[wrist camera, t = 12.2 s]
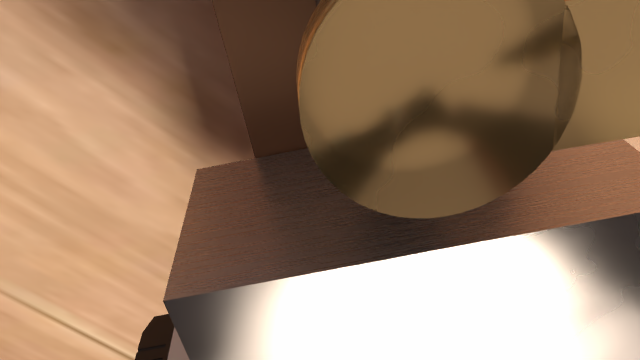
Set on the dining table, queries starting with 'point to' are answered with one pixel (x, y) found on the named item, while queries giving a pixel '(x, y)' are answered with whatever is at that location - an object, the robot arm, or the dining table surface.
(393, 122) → the lever
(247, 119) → the body
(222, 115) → the dining table surface
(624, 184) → the grey block on baseplate
